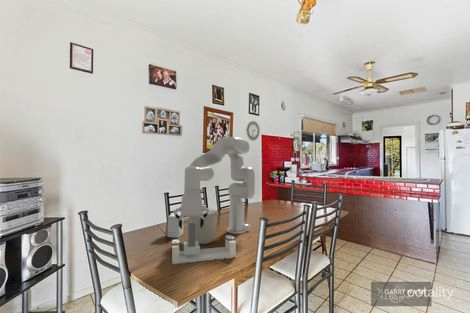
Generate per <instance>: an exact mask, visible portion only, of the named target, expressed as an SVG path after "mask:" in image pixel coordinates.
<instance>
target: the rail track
mask: <svg viewBox="0 0 470 313" xmlns="http://www.w3.org/2000/svg"><path fill="white" fill-rule="evenodd" d="M181 244H182V241H181V240H179V238H178V239H172V241H170V245H171V246H172V248H171V249H172V250H171V251H172V252H171V257H172V258H171V265H177V264H178V265H179V264H186V263H187V262H188V263H195V262H197V261H198V262H204V261H206V260H207V261H214V259H217V260H224V258H226V259H234V258H233V257H236V256H237V242H236V237H235V236H233V235H225V242H224V244H225V245H224V246H222V247H213V248H212V247H211V248H200V254H193V255H185V254H184V250H180V245H181ZM198 262H197V263H198Z"/></svg>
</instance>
